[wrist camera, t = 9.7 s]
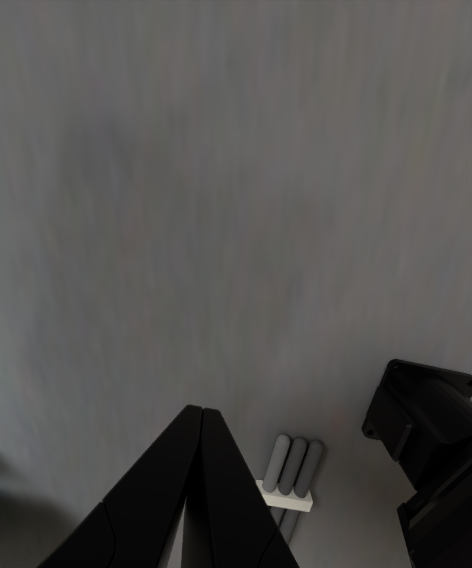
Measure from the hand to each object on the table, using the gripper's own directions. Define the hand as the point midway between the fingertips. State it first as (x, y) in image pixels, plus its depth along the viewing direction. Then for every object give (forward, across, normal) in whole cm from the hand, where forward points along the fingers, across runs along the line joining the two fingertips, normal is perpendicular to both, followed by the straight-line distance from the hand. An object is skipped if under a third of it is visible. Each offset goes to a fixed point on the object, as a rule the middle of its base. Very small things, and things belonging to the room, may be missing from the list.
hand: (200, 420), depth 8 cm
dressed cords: (+13, -8, +22) cm, 27 cm away
